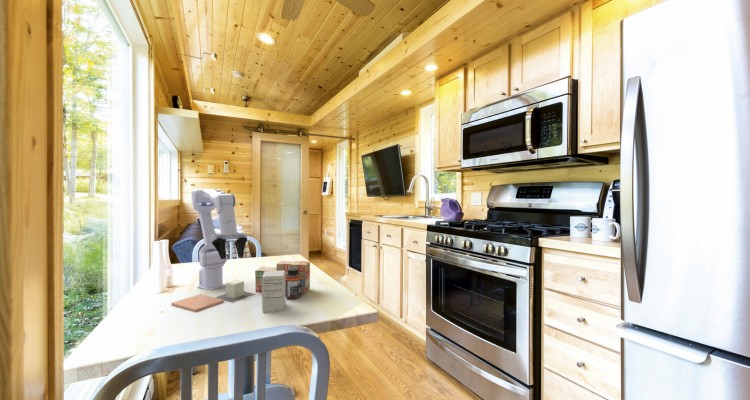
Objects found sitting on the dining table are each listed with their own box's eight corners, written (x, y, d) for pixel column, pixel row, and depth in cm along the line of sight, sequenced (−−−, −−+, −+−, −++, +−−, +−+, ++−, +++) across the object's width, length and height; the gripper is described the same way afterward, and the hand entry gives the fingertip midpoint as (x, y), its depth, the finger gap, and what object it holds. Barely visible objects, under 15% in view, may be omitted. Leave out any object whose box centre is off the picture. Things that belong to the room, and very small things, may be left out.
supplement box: (265, 305, 114) (264, 271, 114) (286, 303, 115) (285, 270, 115) (261, 313, 107) (261, 276, 106) (284, 311, 108) (283, 275, 108)
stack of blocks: (255, 292, 128) (254, 263, 128) (261, 288, 134) (261, 259, 134) (305, 294, 126) (305, 264, 126) (310, 289, 132) (310, 260, 132)
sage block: (226, 296, 122) (226, 282, 122) (236, 293, 126) (236, 279, 126) (234, 298, 120) (234, 284, 120) (243, 295, 124) (243, 281, 124)
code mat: (213, 298, 121) (213, 297, 121) (237, 290, 131) (237, 289, 131) (232, 303, 116) (232, 302, 116) (256, 294, 126) (256, 293, 126)
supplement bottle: (287, 294, 125) (286, 266, 125) (302, 294, 126) (302, 266, 125) (284, 300, 119) (283, 270, 119) (299, 299, 120) (299, 270, 119)
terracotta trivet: (171, 305, 113) (171, 302, 113) (200, 296, 123) (200, 294, 123) (195, 312, 107) (195, 309, 107) (223, 302, 117) (223, 299, 117)
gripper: (217, 220, 114) (222, 257, 111) (250, 221, 126) (255, 254, 124) (205, 225, 117) (209, 261, 114) (238, 225, 129) (243, 257, 127)
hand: (232, 257), depth 119 cm, fingers open, 7 cm apart
